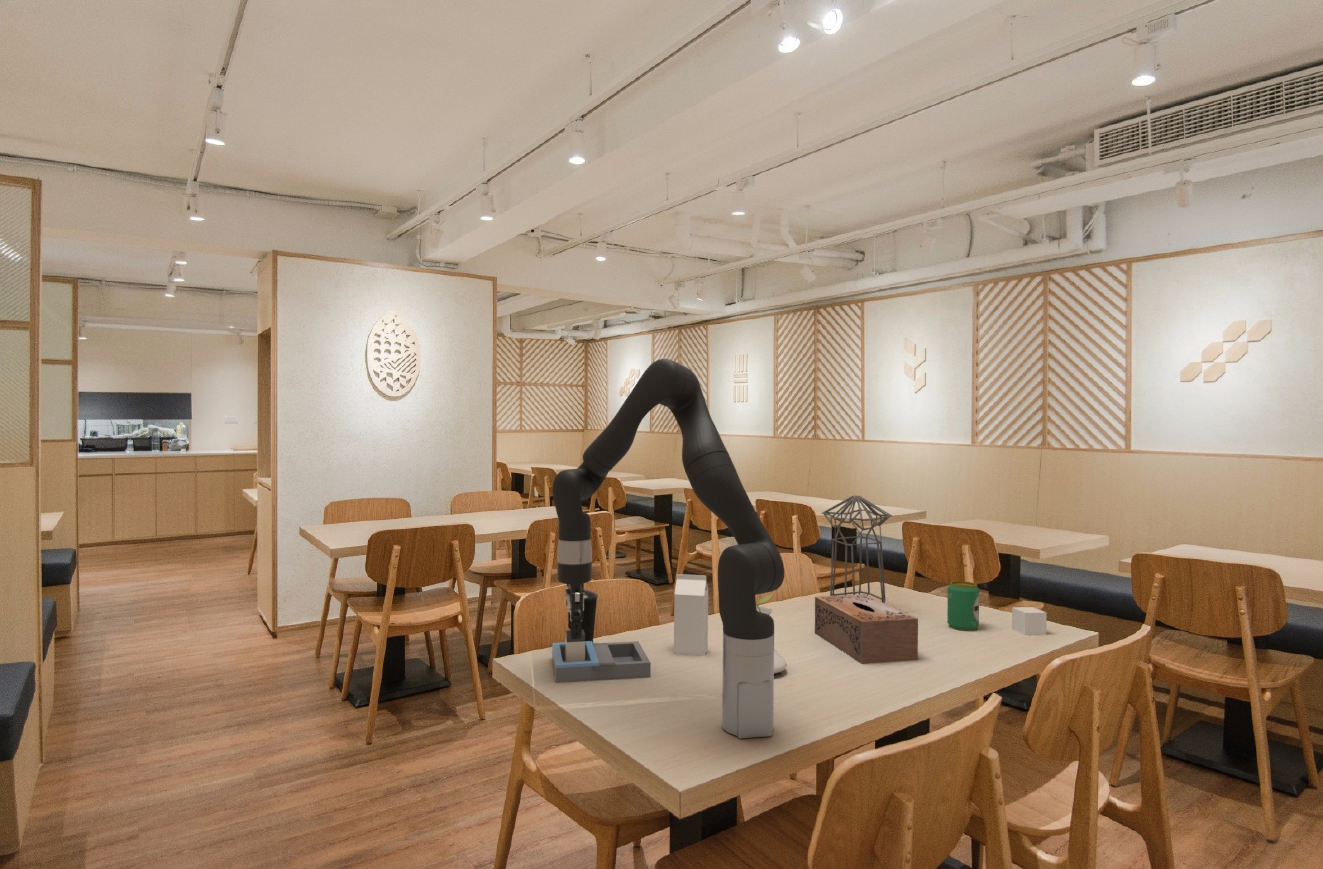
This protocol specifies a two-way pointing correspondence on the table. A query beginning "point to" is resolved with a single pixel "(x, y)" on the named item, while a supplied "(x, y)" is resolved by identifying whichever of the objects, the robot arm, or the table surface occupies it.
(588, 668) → the divided storage tray
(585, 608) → the drinking cup
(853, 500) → the geometric lantern
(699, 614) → the milk carton
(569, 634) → the gray rectangular block
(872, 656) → the tissue box cover
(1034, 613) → the light gray cube
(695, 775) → the table surface
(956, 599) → the beverage can
